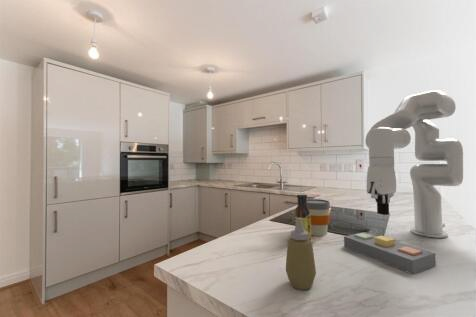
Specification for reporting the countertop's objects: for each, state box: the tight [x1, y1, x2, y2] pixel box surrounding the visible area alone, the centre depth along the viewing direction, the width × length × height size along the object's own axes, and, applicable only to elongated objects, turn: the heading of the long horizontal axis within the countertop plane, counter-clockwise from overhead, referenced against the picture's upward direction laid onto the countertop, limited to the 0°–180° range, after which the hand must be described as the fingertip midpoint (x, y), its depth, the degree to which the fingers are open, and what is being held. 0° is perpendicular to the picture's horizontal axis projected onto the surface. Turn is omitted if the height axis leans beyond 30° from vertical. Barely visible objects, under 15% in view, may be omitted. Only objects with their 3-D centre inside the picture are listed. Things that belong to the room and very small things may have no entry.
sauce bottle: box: [294, 193, 312, 241], centre depth 94 cm, size 7×6×20 cm
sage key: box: [355, 232, 373, 240], centre depth 85 cm, size 4×4×2 cm
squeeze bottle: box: [285, 218, 317, 291], centre depth 61 cm, size 8×8×18 cm
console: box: [343, 231, 437, 275], centre depth 78 cm, size 12×24×4 cm, turn 24°
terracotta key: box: [398, 246, 422, 256], centre depth 71 cm, size 4×4×2 cm
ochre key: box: [374, 235, 396, 247], centre depth 78 cm, size 4×4×2 cm
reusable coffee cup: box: [307, 198, 331, 237], centre depth 104 cm, size 13×13×15 cm
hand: (383, 213), depth 78 cm, fingers closed
